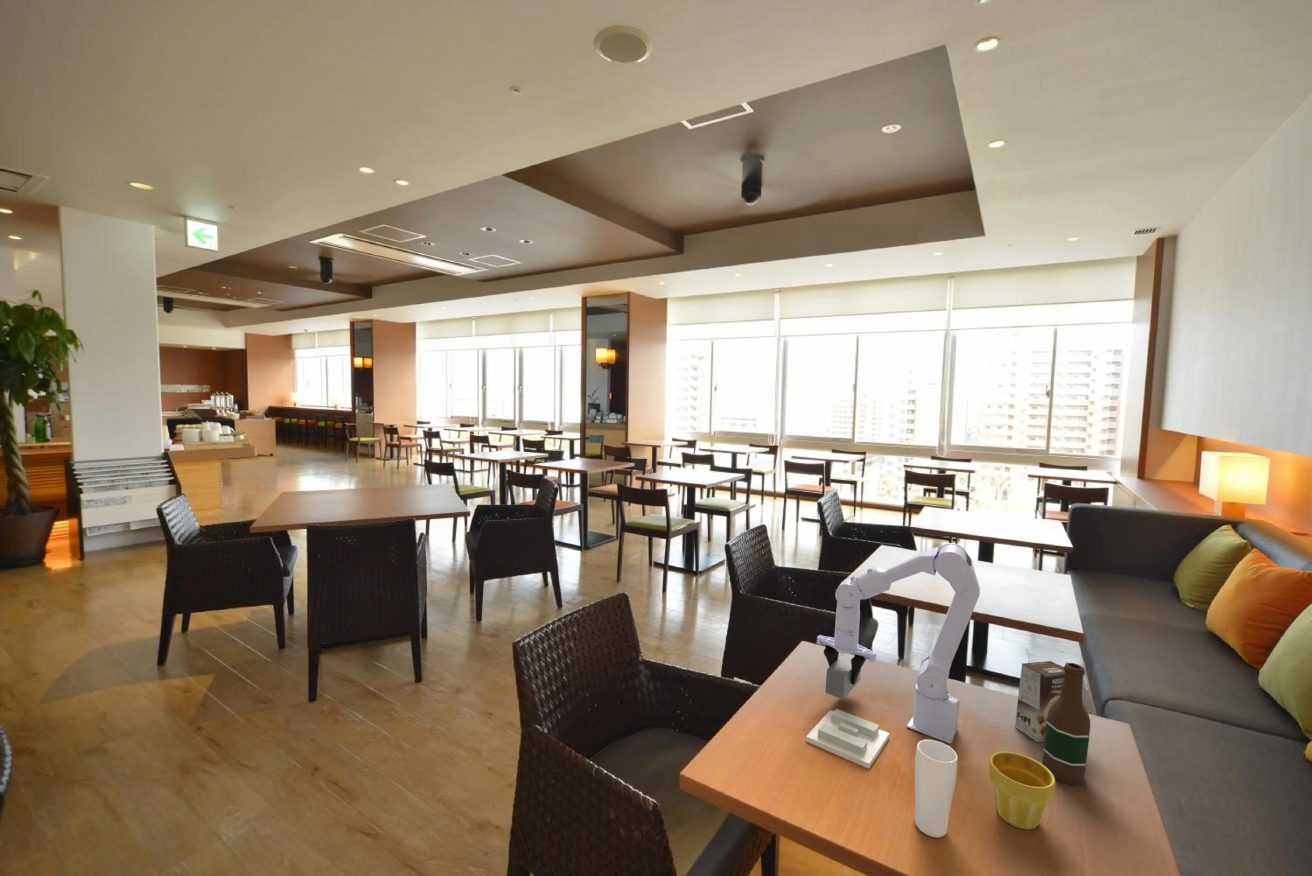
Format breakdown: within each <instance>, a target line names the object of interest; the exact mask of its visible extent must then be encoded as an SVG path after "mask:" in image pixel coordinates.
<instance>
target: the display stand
mask: <svg viewBox="0 0 1312 876" xmlns="http://www.w3.org/2000/svg"><path fill="white" fill-rule="evenodd" d="M879 728H880V725H879V724H877V723H874V722H872V721H869V720H867V719H863V718H861V717H858V716H856V715H854V714H851V713H848V712H846V711H843V710H841V709H838V708H835V710H831V709H830V710H828V711H827V713H826V714H825V715H824V716H823V717H822V718H821V720H819V722H818V723H817V724H816V725H815V726H814V727H813V728H812V729H811V731H810V732H809V733H808V734H807V735H806V738H805V742H806V743H809V744H810V745H813V746H816V747H818V748H820V749H823V750H825V751H827V752H829V753H831V754H833V755H836V756H838V757H841V758H843V759H845V760H848V761H849V762H852V763H854V764H857V765H859V766H861V767H864V768H866V769H868V770H869V769H870V768H871V767H872V765H873V764H874V762H875V760H876V759H877V757H878V756H879V754H880V753H881V752H882V750H883V748H884V747H885V745H886V743H887V742H888V741H889V739H890V733H889V732H887V731H885V730H882V729H879Z"/></svg>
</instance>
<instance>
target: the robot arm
mask: <svg viewBox="0 0 1312 876" xmlns="http://www.w3.org/2000/svg"><path fill="white" fill-rule="evenodd" d="M921 573H926V574H929V575H932V576H936V573H937V574H939V576H941V577H942V578H943V579H945V581H947V583H949V585H950V586H951V589H952V590H953V591H954V595H953V597H952V599H951V602H950V604H949V607H948V610H947V611H946V614H945V618H944V619H943V622H942V624H941V626H940V627H941V628H940V630H939V632H938V633H937V637H936V639H935V642H934V644H933V647H932V648H931V650H930V652H929V655H928V656H927V657H925V658H924V659H923V660H922V661H921V663H920V668H919V669H920V670H919V673H918V676H917V678H916V684H915V688H914V699H913V701H914V702H913V713H912V717H911V719H910V720H909V722H908V723H907V728H909V729H910V730H913V731H916V732H919V733H922V734H924V735H926V736H929V737H931V738H935V739H937V740H940V741H941V742H945V743H947V744H952V742H953V740H954V738H955V735H956V733H957V731H958V729H959V714H960V700H959V699H957V698H956V697H954V696H952V695H951V694H950V691H949V690H948V679H949V676H950V669H951V667H952V663H953V660H954V658H955V655H956V653H957V651H958V648H959V646H960V644H961V640H962V639H963V636H964V633H965V631H966V629H967V626H968V624H969V622H970V619H971V616H972V615H973V612H974V609H975V607H976V605H977V602H978V600H979V597H980V593H981V587H980V585H979V580H978V578H977V575H976V570H975V568H974V564H973V560H972V558H971V556H970V555H969V554H968V552H967V551H966V550H965V548H964V547H963V546H961V545H959V544H958V543H953V542H951V543H950V542H949V543H944V544H942V545H941V546H940V547H939V546H937V547H933V548H931V549H927V550H925V551H922V552H921V553H919V554H917V555H916V554H915V556H912V557H911V558H908V559H906V560H903V561H902V562H900V563H897V564H896V565H894V566H891V567H889V568H887V569H885V568H880V567H876V568H873V567H872V566H871V567H869V568H867V570H866V572H864V573H861V574H859V575H857V576H855V575H851V576H850V577H849V578H847V579H844V580H843V581H842V582H841V583H840V584H839V585H838V587H837V588H836V589H835V595H834V596H835V600H836V601H837V602H836V610H835V624H834V625H835V627H834V637H832V636H825V635H821V634H819V635H817V637H816V645H818V646H824V649H823V655H824V657H825V660H826V661H827V663H828V668H829V667H830V666H831V665H832V664H833V663H834V662H835V661H836V660H838V659H839V654H840V653H841V654H844V653H846V654H850V655H853V656H854V657H853V658H852V659H851V665H852V675H851V684H853V685H854V684H855V683H856V681H857V677H858V674H859V672H860V669H861V670H862V667H863V665H864V664H865V662H866V660H868V661H869V662H870V663H874V662H875V661H876V659H877V651H875V650H872V649H868V648H867V647H865V646H863V645H861V644H859V638H860V637H859V636H860V618H861V610H860V608H861V600H867V599H870V598H872V597H875V596H877V595H880V594H882V593H885V592H888V591H889V590H891V587H892V583H896V582H897V581H900V580H902V579H906V578H909V577H912V576H914V575H917V574H921Z"/></svg>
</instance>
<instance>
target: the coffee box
mask: <svg viewBox="0 0 1312 876" xmlns="http://www.w3.org/2000/svg"><path fill="white" fill-rule="evenodd" d="M1063 668H1064V666H1062V665H1060V664H1057V663H1055V662H1053V661H1052V660H1048V661H1047V660H1045V661H1037V662H1026V663H1025V662H1024V663H1021V669H1020V677H1019V688H1018V697H1017V707H1016V714H1015V722H1014V728H1016V729H1017V730H1018V731H1020V732H1021V733H1023V734H1025V735H1026V736H1027V737H1029V738H1031V739H1033V740H1034V741H1035V742H1039V743H1040V742H1044V740H1045V730H1046V721H1047V716H1048V712H1049V709H1050V707H1051V705H1052V704H1053V702H1054V701H1056V700H1057V699H1058V698H1059V697H1060V694H1061V690H1062V684H1063V679H1064V674H1065V670H1064V669H1063Z"/></svg>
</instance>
